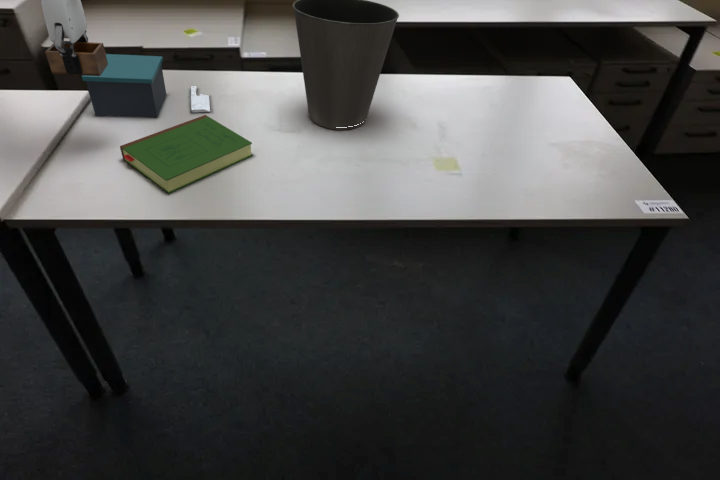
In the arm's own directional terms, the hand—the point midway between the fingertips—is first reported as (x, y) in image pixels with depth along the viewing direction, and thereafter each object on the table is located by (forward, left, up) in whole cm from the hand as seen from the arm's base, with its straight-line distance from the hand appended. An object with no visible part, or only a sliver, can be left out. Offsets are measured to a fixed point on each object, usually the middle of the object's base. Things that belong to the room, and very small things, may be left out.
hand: (80, 66), depth 116 cm
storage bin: (+3, +20, -20) cm, 28 cm away
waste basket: (+61, +17, -20) cm, 66 cm away
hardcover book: (+22, -7, -20) cm, 30 cm away
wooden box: (0, 0, -1) cm, 1 cm away
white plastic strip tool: (+21, +24, -20) cm, 38 cm away
